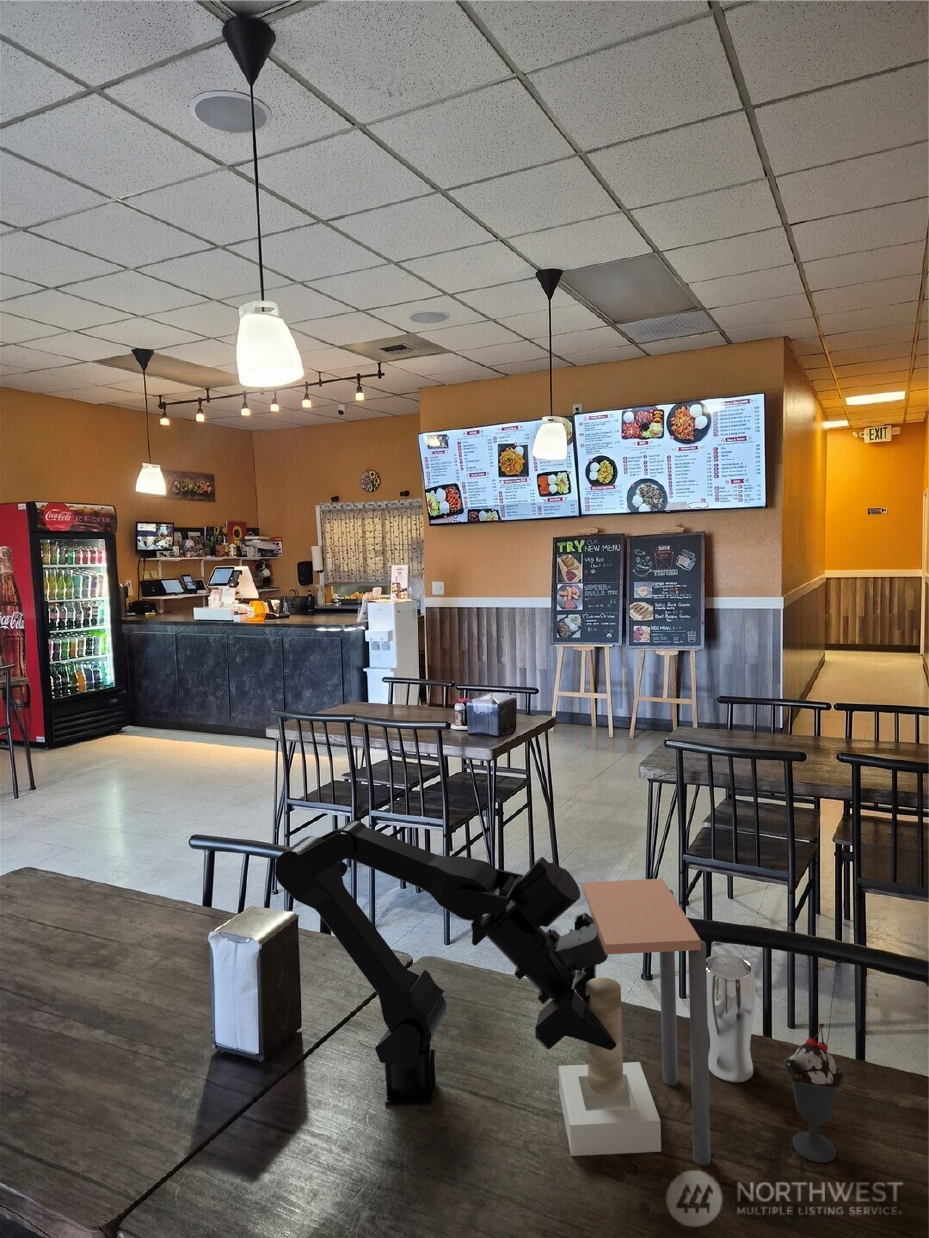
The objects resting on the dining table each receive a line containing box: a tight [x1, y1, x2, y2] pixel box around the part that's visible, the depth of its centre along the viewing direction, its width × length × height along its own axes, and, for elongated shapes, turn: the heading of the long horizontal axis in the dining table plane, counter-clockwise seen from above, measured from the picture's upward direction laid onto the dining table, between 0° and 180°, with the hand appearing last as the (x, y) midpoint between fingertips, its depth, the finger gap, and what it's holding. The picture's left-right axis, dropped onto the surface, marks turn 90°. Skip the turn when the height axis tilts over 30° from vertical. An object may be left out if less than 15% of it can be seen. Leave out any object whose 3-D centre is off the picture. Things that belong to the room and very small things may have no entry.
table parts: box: [558, 878, 711, 1167], centre depth 100 cm, size 16×17×28 cm
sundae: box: [783, 1023, 845, 1164], centre depth 94 cm, size 7×7×15 cm
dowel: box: [586, 977, 624, 1095], centre depth 100 cm, size 4×4×13 cm
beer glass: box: [706, 953, 757, 1083], centre depth 109 cm, size 7×7×15 cm
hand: (615, 1035), depth 100 cm, fingers closed on dowel, 4 cm apart
